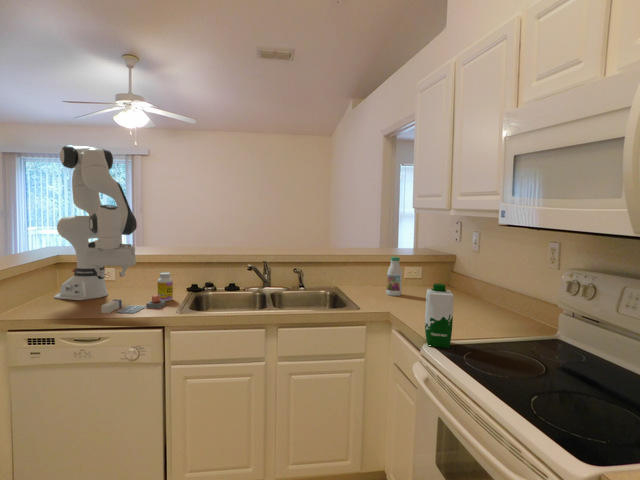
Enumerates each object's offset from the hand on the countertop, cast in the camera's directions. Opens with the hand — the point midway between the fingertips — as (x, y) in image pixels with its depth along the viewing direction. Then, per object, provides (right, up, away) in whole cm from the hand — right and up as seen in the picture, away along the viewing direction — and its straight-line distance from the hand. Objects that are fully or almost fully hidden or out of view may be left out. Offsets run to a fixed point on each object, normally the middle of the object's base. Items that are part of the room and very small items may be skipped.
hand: (111, 276), depth 165 cm
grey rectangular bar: (0, -15, +1) cm, 15 cm away
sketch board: (+8, -15, +2) cm, 17 cm away
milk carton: (+129, -20, -32) cm, 134 cm away
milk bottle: (+128, -14, +41) cm, 135 cm away
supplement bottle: (+15, -13, +20) cm, 28 cm away
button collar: (+16, -14, +8) cm, 23 cm away
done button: (+16, -12, +8) cm, 22 cm away
